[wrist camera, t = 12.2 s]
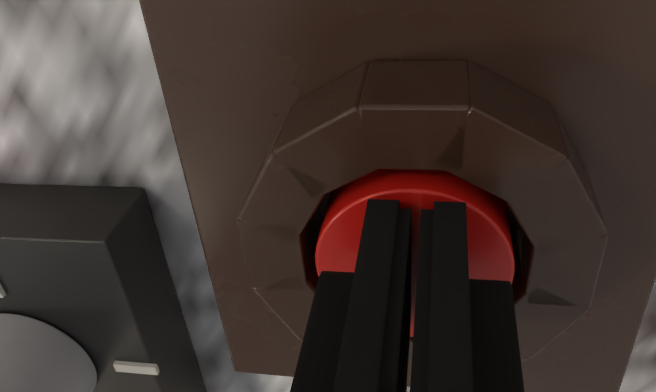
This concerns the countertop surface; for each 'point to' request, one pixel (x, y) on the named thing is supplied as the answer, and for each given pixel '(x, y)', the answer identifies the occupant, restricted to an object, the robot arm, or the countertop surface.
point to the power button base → (422, 153)
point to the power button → (417, 222)
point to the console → (97, 282)
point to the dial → (41, 358)
